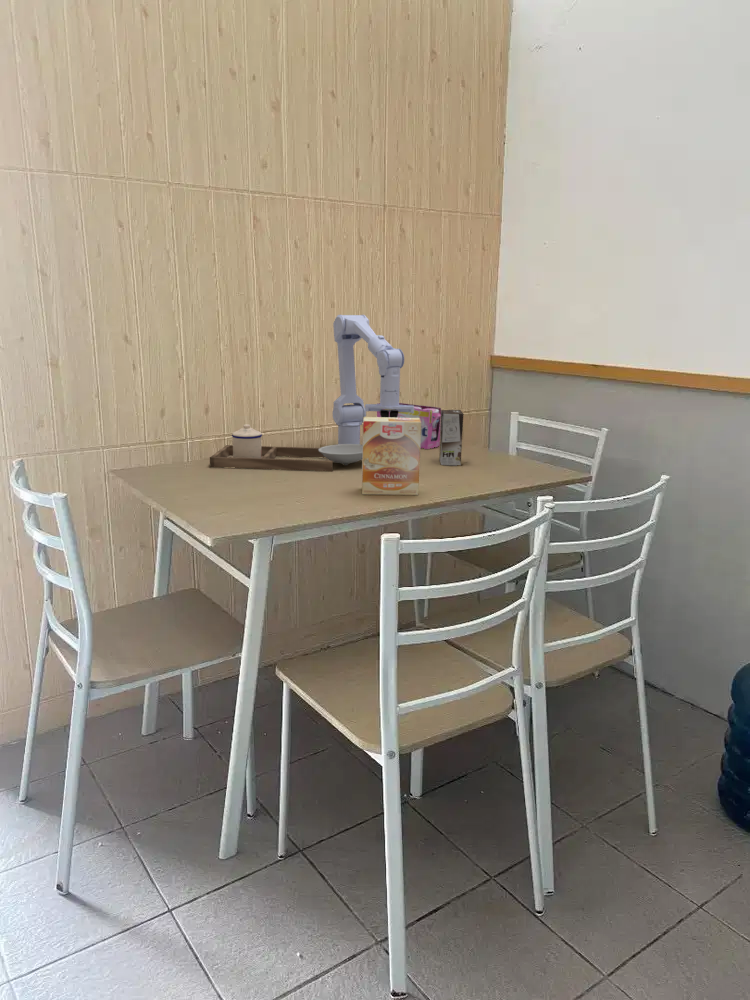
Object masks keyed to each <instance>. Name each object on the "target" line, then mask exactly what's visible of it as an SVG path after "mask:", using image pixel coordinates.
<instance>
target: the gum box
mask: <svg viewBox="0 0 750 1000" xmlns="http://www.w3.org/2000/svg"><path fill="white" fill-rule="evenodd" d="M377 404H380V402H379V403H377ZM399 405H414V413H410V412H398V416H397V418H420V421H421V444H420V449H422V448H424V450H430V448H431V449H435V448H439V447H440V424H441V410H442V408H441V407H436V406H428V405H422V404H421V405H417V404H411V403H403V402H399ZM379 410H380V409H379ZM383 410H396V409H383ZM376 417H381V415H380V411H376ZM389 417H390V412H389ZM438 446H439V447H438ZM434 447H435V448H434Z"/></svg>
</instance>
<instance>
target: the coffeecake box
mask: <svg viewBox="0 0 750 1000" xmlns="http://www.w3.org/2000/svg"><path fill="white" fill-rule="evenodd" d="M420 444H421V421H420V418H395V417H377V416H366V417H363V422H362V445H363V453H362V460H361V461H362V462H361V495H379V496H380V495H383V496H385V495H387V496H388V495H390V496H393V495H394V496H419V492H420V491H419V489H420V468H421V466H420V465H421V464H420V463H421V448H420Z"/></svg>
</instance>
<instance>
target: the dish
mask: <svg viewBox="0 0 750 1000" xmlns="http://www.w3.org/2000/svg"><path fill="white" fill-rule="evenodd" d="M318 448H319V450H318V451H319V452H321V453H322V454H323V455H324V456H325V457H326V458H325V459H327V460H329V461H333V463H336V464H342V465H343V464H344V465H343V466H349V465H348V464H355V463H357V462H360V461H362V453H363V444H361V443H360V444H338V443H337V444H331V445H325V446H321V447H318Z"/></svg>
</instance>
